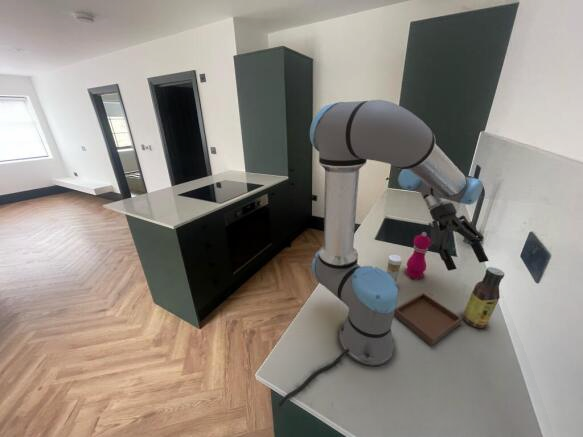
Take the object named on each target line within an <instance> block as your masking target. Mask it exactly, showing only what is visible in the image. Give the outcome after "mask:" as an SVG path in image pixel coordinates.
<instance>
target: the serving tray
mask: <svg viewBox="0 0 583 437" xmlns="http://www.w3.org/2000/svg"><path fill="white" fill-rule="evenodd" d="M394 317H395V318H396V319H398V321H400V322H401V323H402V324H403V325H405V326H406V327H407V328H408V329H410V330H411V331H412V332H413V333H414V334H416V335H417V336H418V337H419V338H421V339H422V340H423V341H424V342H425V343H427V344H428V345H429V346H430V347H432V346H433V345H435V344H436V343H438V342H439V341H440V340H442V339H443V338H444V337H445V336H447V335H449V334H450V333H451V332H453V331H454V330H455V329H457V328H458V327H459V326H461V324H462V321H463V317H461V316H459V315H458V314H456V313H455V312H453V311H452V310H451V309H449V308H447V306H444V305H443V304H441V303H440V302H438V301H437V300H435V299H433V298H432V297H431V296H429V295H427V294H426V293H424V292H422V293H420V294H419V295H417V296H415V297H413V298H412V299H410V300H408V301H406V302H404V303H402V304H401V305H399V306H396V308H395V312H394Z"/></svg>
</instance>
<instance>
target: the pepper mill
mask: <svg viewBox="0 0 583 437" xmlns="http://www.w3.org/2000/svg"><path fill="white" fill-rule="evenodd" d="M429 247H431V238H430V237H429V236H428V233H427V232H426V231H422V233H421V234H418V235H415V236H414V238H413V253H412V255H411V256H410V257H409V258H408V260H407V261H406V270H405V273H406V275H407V276H408V277H410V278H411V279H414V280H415V279H416V280H419V279H422V278H423V277H424V272H425V271H426V270H427V262H426V258H425V257H426V253H428V251H429Z"/></svg>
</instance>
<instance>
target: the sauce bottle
mask: <svg viewBox="0 0 583 437" xmlns="http://www.w3.org/2000/svg"><path fill="white" fill-rule="evenodd" d="M504 277H505V272H504V271H503V270H502V269H500V268H497V267H493V266H489V267H487V268H486V269H485V274H484V277H483V278H482V280H480V281H478V282H477V283H476V284H475V285H474V288H473V290H472V292H471V294H470V296H469V299H468V301H467V303H466V306H465V309H464V311H463V315H462V319H463V320H464V321H465V322H466V323H467V324H468V325H470V326H471V327H474V328H476V329H484V328H485V327H486V325H488V323H489V321H490V319H491V316H492V315H493V313H494V311H495V308H497V307H496V306H497V304H498V302H499V300H500V297H501V296H500V284H501V282H502V279H504Z"/></svg>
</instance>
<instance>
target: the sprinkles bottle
mask: <svg viewBox="0 0 583 437" xmlns="http://www.w3.org/2000/svg"><path fill="white" fill-rule="evenodd" d="M402 262H403V258H402V257H401V256H399V255H397V254H390V255H389V256H388V258H387V267H386V271H385V272H387V273H388V274H389V275H390V276H391V277H392V278H393V279H394V280H395V282H396V284H397V282H398V281H399V280H398V279H399V275H400V270H401V265H402Z"/></svg>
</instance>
